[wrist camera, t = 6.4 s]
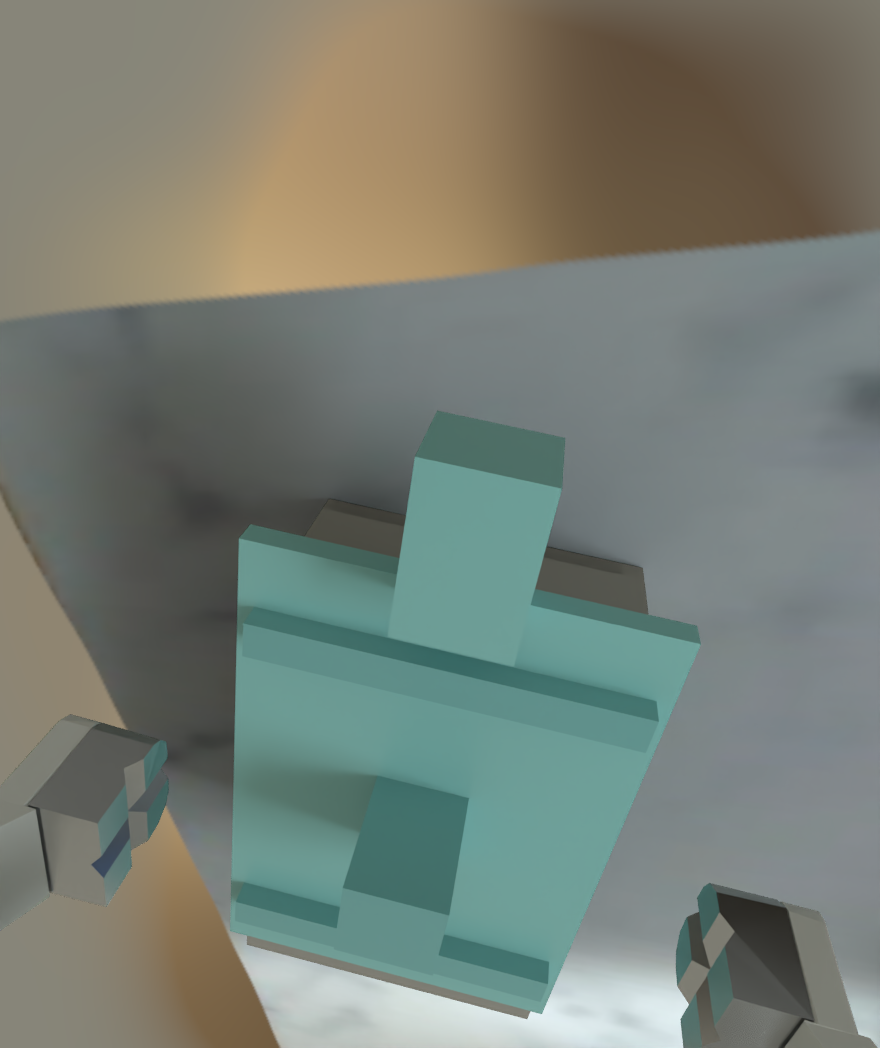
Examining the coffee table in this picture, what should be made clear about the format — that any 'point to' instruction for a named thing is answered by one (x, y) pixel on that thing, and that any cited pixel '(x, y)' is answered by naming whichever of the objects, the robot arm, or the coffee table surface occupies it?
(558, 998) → the coffee table surface
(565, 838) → the lid
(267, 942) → the tub
